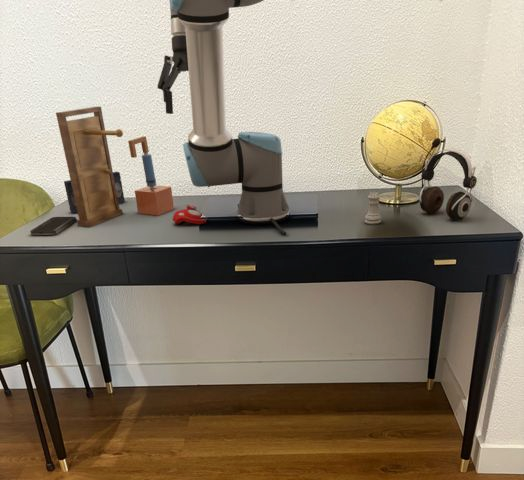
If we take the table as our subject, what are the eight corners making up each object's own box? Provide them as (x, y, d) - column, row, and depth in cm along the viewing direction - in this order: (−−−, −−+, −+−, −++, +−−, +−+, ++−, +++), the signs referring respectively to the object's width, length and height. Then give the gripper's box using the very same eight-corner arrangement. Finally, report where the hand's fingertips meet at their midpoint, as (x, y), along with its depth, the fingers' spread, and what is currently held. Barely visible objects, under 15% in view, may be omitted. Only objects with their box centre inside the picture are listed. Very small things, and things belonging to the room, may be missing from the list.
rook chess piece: (382, 220, 148) (383, 191, 144) (379, 225, 144) (381, 195, 140) (365, 219, 149) (367, 190, 145) (363, 224, 146) (364, 194, 142)
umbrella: (155, 209, 171) (142, 135, 159) (162, 210, 169) (150, 135, 158) (140, 216, 165) (125, 140, 153) (147, 217, 164) (133, 141, 152)
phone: (77, 216, 163) (54, 231, 150) (77, 220, 164) (55, 235, 151) (52, 216, 164) (28, 231, 151) (53, 220, 165) (29, 235, 152)
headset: (408, 212, 153) (415, 138, 143) (427, 207, 157) (434, 135, 147) (458, 225, 141) (469, 144, 131) (477, 219, 144) (488, 140, 135)
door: (112, 212, 170) (92, 106, 155) (153, 217, 162) (136, 106, 147) (77, 225, 159) (52, 112, 144) (119, 231, 151) (98, 112, 136)
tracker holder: (213, 218, 154) (182, 216, 148) (210, 232, 156) (179, 231, 151) (195, 201, 162) (165, 198, 156) (192, 214, 164) (162, 212, 158)
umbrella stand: (154, 206, 174) (151, 184, 170) (174, 209, 170) (171, 186, 167) (138, 213, 168) (134, 190, 164) (158, 215, 164) (154, 192, 161)
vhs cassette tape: (73, 214, 171) (66, 182, 166) (69, 212, 173) (62, 180, 168) (125, 202, 180) (120, 172, 175) (122, 201, 182) (116, 171, 178)
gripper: (225, 35, 159) (226, 113, 167) (158, 41, 170) (162, 114, 178) (212, 31, 153) (214, 112, 161) (143, 37, 164) (148, 113, 171)
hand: (187, 113), depth 169 cm, fingers open, 13 cm apart
